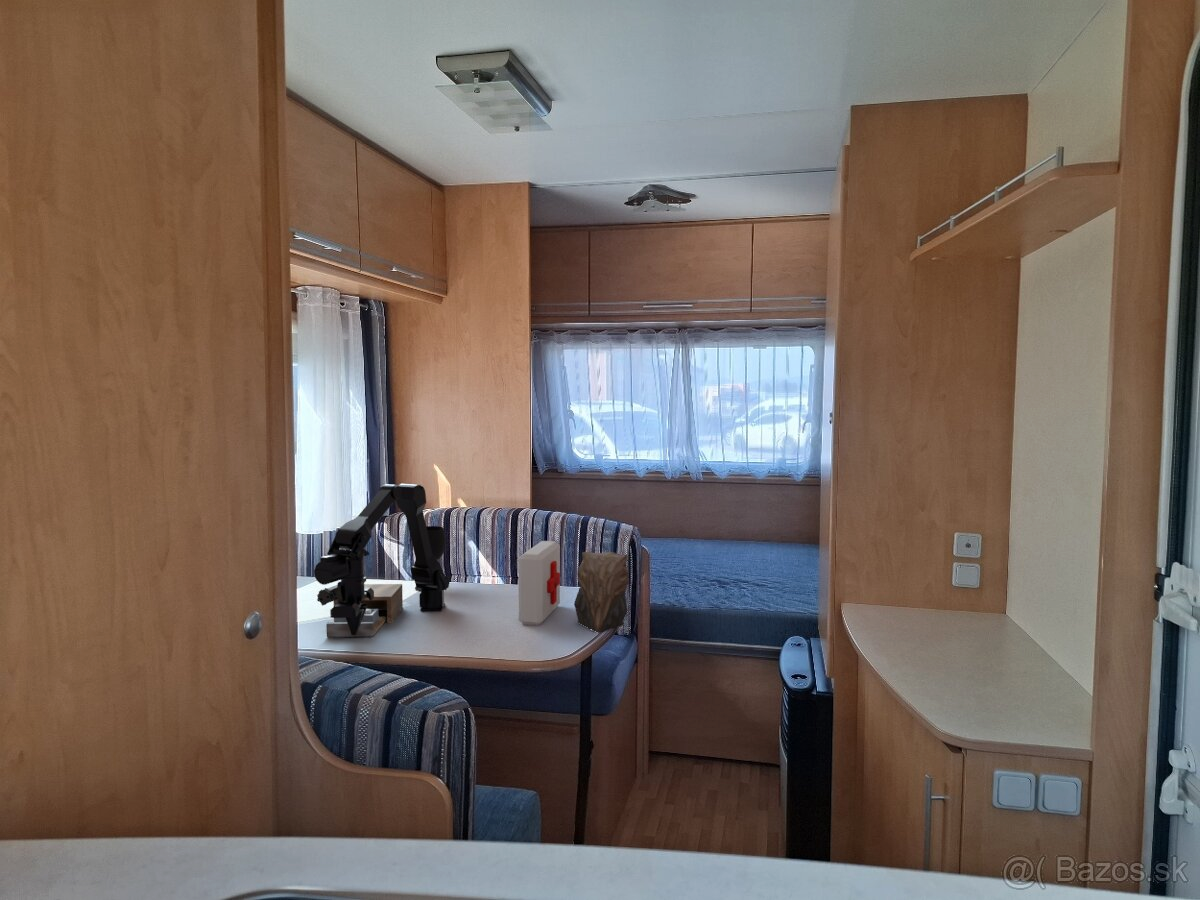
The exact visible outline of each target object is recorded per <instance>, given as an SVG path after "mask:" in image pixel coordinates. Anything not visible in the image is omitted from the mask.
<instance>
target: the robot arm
mask: <svg viewBox="0 0 1200 900" xmlns="http://www.w3.org/2000/svg"><path fill="white" fill-rule="evenodd" d="M394 502H395V503H396V506H397V508H398V509H399V510H400V511H401V512H402V513H403V514H404V516H405V519H406V523H407V527H408V528H407V529H408V531H409V536H410V537H409V538H410V541H411V545H412V548H413V554H414V557H415V560H414V562H413V565H412V566H411V567H410V572H411V573H410V574H411V580H414V583H415V587H416V588H422V589H421V591H420V593H419V594H418V595H419V596H418V597H419V611H421V612H424V611H425V612H428V611H429V612H433V611H434V612H435V611H439V612H441V611H443V610H444V608H445V607H446V603H445V591H446V590H447V589H449V587H450V579H449V578H448V577H447V576H446V574H445V573H444V571H443V568H442V565H441V562H440V561H439V559H438V560H437V559H436V558H435V557H434V556H433V554H432V550H431V546H430V541H429V537H428V532H427V528H426V526H427V523H426V520H425V515H424V509H425V507H426V504H427V495H426V489H425V487H424V486H422V485H421V484H412V483H411V484H409V483H400V484H398V485H397V484H388V483H387V484H382V485H381V486H380V487H379V490H378V492H376V494H375V496H373V498H372V499H370V501H369V502H368V504H367V505H366V506H365V507H364V508H363V509H362V510H361V512H360V513H359V514H358V515H357V516H356V517H355V518H353V519H351V520H349V521H346V522H345V523H344V524H343V525H341V526H340V527H339V528H338V529H337V530H336V533H335V536H334V538H333V540H332V542H331V545H330V546H329V549H328V551H327V553H326V554H327V556H326V555H323V556H320V558H319V562H318V563H316V565H315V568H314V569H313V573H314V578H315V579H316V581H317V582H318V583H319V584H320V585H324V586H325V585H326V586H327V585H328V584H332V583H335V582H337V583H336V585H334V586H330V587H328V588H326V587H325V588H324V589H320V590H319V591H318V593H317V594H316V596H317V599H316V601H317V602H320V605H321V606H326V605H327V604H328V603H331V602H332V603H333V602H334V601H335V600H337V602H342V601H344V603H337V604H336V605H335V606H334V605H333V607H332V608H330V610H329V612H330V613H329V615H330V616H329V617H330V618H331V619H334V618H346V620H347V623H348V626H349V629H350V632H351V635H356V634H357V631H358V629H359V626H360V624H361V621H362V619H363V616H364V614H365V612H366V609H367V607H368V604H363V602H361V601H362V600H363V599H364V598H369V600H372V599H373V598H374V590H372V589H371V588H364V584H365V583H366V582H367V576H365V567H364V565H365V564H364V561H365V559H364V557H368V556H369V555H370V552H369V551H368V550H366V549H365V548H366V546H367V544H368V543H369V541H370V540H371V537H372V531H373V529H374V527H375V525H377V523H378V522H379V520H381V518H382V517H384V515H385V513H386V512H387V511H388V510H389V509H390V507H391V506H392V505H393V503H394Z"/></svg>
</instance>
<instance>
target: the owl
mask: <svg viewBox="0 0 1200 900" xmlns="http://www.w3.org/2000/svg"><path fill="white" fill-rule="evenodd" d="M581 556H582V561H581V563H580V565H579V567H578V570H577V581H578V584H579V588H578V592H577V594H576V597H575V601H574V604H573V607H574V609H575V614H576V617H577V624H578V623H580V624H582V625H581V626H583V625H584V626H586V627H588V628H589V629H592V630H594V631H596V632H598V633H597V634H600V633H603V632H607V631H609V630H611V629H615V628H617V627H621V626H623V625H624V624H625V623H624V619H625V618H626V615H627V613H628V607H627V599H626V591H627V587H628V585H629V569H628V567H627V566H628V565H627V561H628V554H620V553H617V552H614V551H606V552H592V551H582V553H581ZM580 624H579V625H580ZM586 627H585V628H586ZM588 628H587V629H588ZM589 629H588V630H589ZM594 631H593V632H594ZM596 632H595V633H596Z"/></svg>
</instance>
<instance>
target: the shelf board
mask: <svg viewBox="0 0 1200 900" xmlns="http://www.w3.org/2000/svg"><path fill="white" fill-rule="evenodd" d="M386 621H387V616H379V621H378V623H377V624H376V625H375V626H374V622H361V624H360V626H359V629H358V631H357V634H356V635H351V632H350V629H349V626H348V623H347V622H334V621H331V622H327V623H326V625H325V627H326V629H325V631H326V637H329V638H331V637H332V638H335V637H336V638H337V637H338V638H339V637H340V638H343V637H345V638H346V637H349V638H350V637H353V638H354V637H373V636H374V635H375V634H376V633H377V632H378V631H379V629H380V628H381V627H382V625H383V624H384V623H385V622H386Z"/></svg>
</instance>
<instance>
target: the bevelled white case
mask: <svg viewBox="0 0 1200 900" xmlns="http://www.w3.org/2000/svg"><path fill="white" fill-rule="evenodd" d="M517 561H518V621H519V622H521V623H522V624H523V625H524V624H527V625H526V626H540V625H541V624H542V623H543V622H544V620H546V619H547V618H548V617H549V616H550V614H551V613H552V612H553V611H554V610H555V609H556V608H557V607H558V606H559V604H561V546H560V544H558V542H557V541H552V540H541V541H540V542H538V543H537V544H535V545H534V546H533V547H531V548H530V549H528V550H527V551H526V552H524V553H523V554H522V555H520V556H519V557H518V560H517Z"/></svg>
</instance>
